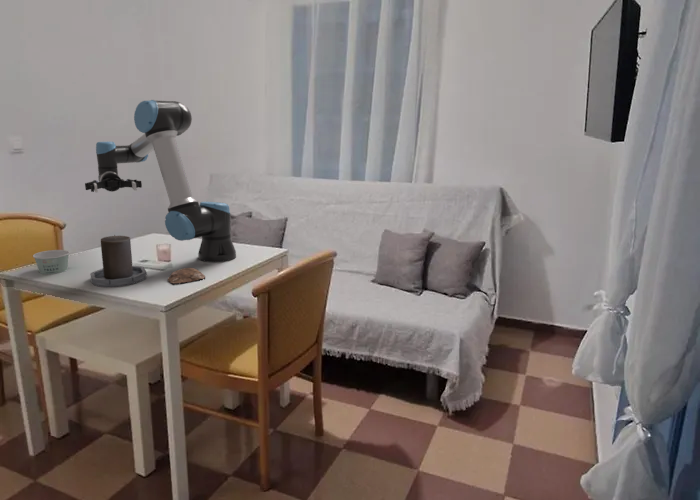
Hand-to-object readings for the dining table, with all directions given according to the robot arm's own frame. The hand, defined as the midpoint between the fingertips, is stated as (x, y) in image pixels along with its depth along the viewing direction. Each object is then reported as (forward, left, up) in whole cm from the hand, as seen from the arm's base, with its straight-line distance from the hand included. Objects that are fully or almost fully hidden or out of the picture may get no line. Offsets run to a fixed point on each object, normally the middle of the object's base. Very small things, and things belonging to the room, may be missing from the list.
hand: (116, 187), depth 195 cm
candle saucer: (-12, +17, -30) cm, 36 cm away
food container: (+18, +16, -30) cm, 39 cm away
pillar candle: (-12, +17, -29) cm, 35 cm away
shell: (-33, +8, -31) cm, 46 cm away
